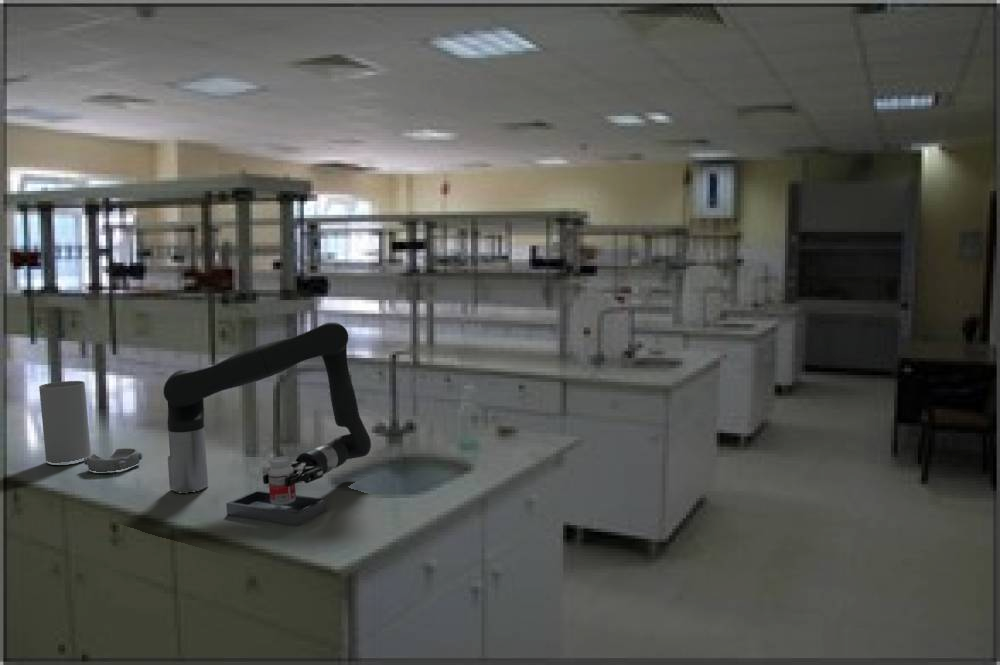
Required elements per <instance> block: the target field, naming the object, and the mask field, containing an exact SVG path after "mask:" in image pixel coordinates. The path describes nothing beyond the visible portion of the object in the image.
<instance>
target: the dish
mask: <svg viewBox="0 0 1000 665" xmlns="http://www.w3.org/2000/svg"><path fill="white" fill-rule="evenodd" d="M141 460H143V453H142V452H140V451H138V449H136V448H131V447H124V448H123V447H122V448H117V449H115V451H114V453H113V454H111V455H110V456H109V457H104V458H102V457H100V456H98V455H97V454H95V453H91V455H89V456H88V457H86V458H84V462H83V463H84V465H85V466H86V465H87V468H88V471H89V470H91V471H96V472H107V471H116V470H121V469H125V468H128V467H131V466H134V465H136V464H138V463H139V464H140V461H141Z"/></svg>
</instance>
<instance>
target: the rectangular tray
mask: <svg viewBox="0 0 1000 665" xmlns="http://www.w3.org/2000/svg"><path fill="white" fill-rule="evenodd" d="M225 507H226V515H227V514H230V515H229V516H231V515H235V516H234V517H238V516H240V517H239V518H245V519H250V518H251V519H252V520H258V521H264V522H269V523H270V522H271V523H277V524H282V525H290V526H296V527H299V526H301V525H303V524H304V523H307V522H309V521H310V520H312V519H314V518H316V517H318V516H319V515H321V514H324V513H325V512H327V502H326V499H325V498H318V497H311V496H303V495H296V500H295V501H294V502H292V503H290V504H287V505H280V506H278V505H273V504H272V503H271V501H270V490H269V491H267V490H261V489H256V490H254V491H251V492H248V493H246V494H245V495H242V496H239V497H238V498H235V499H233V500H231V501H228V502H226V506H225Z"/></svg>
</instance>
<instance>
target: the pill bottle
mask: <svg viewBox="0 0 1000 665" xmlns="http://www.w3.org/2000/svg"><path fill="white" fill-rule="evenodd" d="M290 463H291V458H290V456H285V455H284V456H282V455H281V456H277V457H273V458H271V459H270V467H269V468H270V469H269V468H268V469H269V471H268V470H267V474H268V477H269V483H268V486H269V487H268V488H269V492H270V501H271V503H272V504H273V505H278V506H280V505H287V504H290V503H292V502H294V501H295V500H296V494H297V493H296V484H294V485H292V486H290V487H286V486H285V478H287V477H289V476H291V475H293V474H294V469H293V467H292V466H290V465H289V464H290ZM271 467H272V468H271Z"/></svg>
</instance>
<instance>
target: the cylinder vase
mask: <svg viewBox="0 0 1000 665" xmlns="http://www.w3.org/2000/svg"><path fill="white" fill-rule="evenodd" d="M38 389H39V401H40V412H41V422H42V431H43V432H42V433H43V442H44V443H43V444H44V452H45V454H44V455H45V462H46V461H48V462H51V463H61V462H70V461H75V460H79V459H82V458H86V457H88V456H89V455H90V454H92V452H91V451H92V450H91V440H90V439H91V438H90V428H89V420H88V419H89V418H88V415H89V414H88V406H87V392H86V382H85V381H82V380H66V381H64V380H63V381H55V382H49V383H44V384H41V385H39V387H38Z"/></svg>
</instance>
